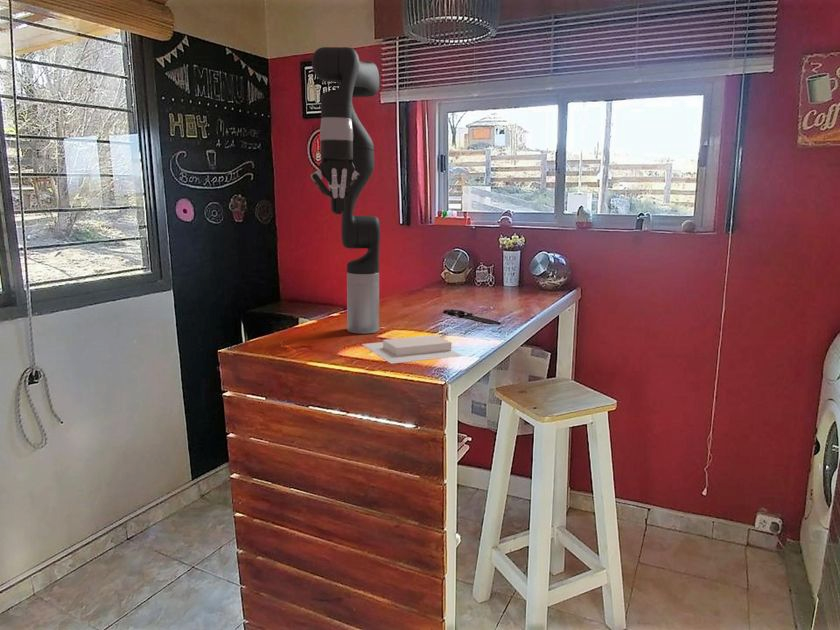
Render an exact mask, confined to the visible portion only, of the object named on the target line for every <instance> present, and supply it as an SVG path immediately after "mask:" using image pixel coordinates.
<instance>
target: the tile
mask: <svg viewBox="0 0 840 630" xmlns="http://www.w3.org/2000/svg"><path fill="white" fill-rule="evenodd" d="M382 342H383V348H385V349H386V350H388V351H389V352H391V353H393V354H394V355H396V356H402V355H411V354H421V353H430V352H440V351H449V350H452V342H451V341H449V340H447V339H445V338H443V337H440V336H439V335H436V334H434V335H433V334H432V335H420V336H411V337H401V338H400V337H399V338H390V339H389V338H387V339H383V340H382Z"/></svg>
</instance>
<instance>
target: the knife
mask: <svg viewBox="0 0 840 630" xmlns="http://www.w3.org/2000/svg"><path fill="white" fill-rule="evenodd" d="M442 313H443V314H447V315H449V316H453V317H455V316H457V318H460V319H461V318H462V319H464V318H466V319H470V320H474V321H479V322H483V323H488V324H499V325H502V323H501V322H500V321H498V320H495V319H490V318H484V317H480V316H476V315H473V314H474V313H473V312H467V311H464V310H459V309H453V308H451V309H444V310H443V311H442Z"/></svg>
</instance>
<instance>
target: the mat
mask: <svg viewBox="0 0 840 630" xmlns="http://www.w3.org/2000/svg"><path fill="white" fill-rule="evenodd" d="M361 345H362V347H365V348H366V349H368V350H370V351H371V352H372V353H374V354H376V355H377V356H378V357H381V358H382V359H383V360H385V362H387V363H389V364H392V365H393V364H400V363H401V364H402V363H410V362H419V361H420V362H421V361H428V360H437V359H439V360H440V359H446V358H456V357H463V355H462V354H460V353H458V352H456V351H454V350H452V349H451V350H449V351H440V352H430V353H421V354H411V355H402V356H396V355H394V354H393V353H391V352H389V351H388V350H386V349H385V348H383V341H381V342H371V343H370V342H369V343H361Z"/></svg>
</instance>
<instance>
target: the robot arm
mask: <svg viewBox="0 0 840 630" xmlns="http://www.w3.org/2000/svg"><path fill="white" fill-rule="evenodd" d="M311 68H312V70H313V73H314V75H315V76H316V78H318V79H319V80H320V81H323V82H330V83H333V82H334V83H338V87H337V88H336V89H332V90H328V91H324V92H323V93H322V94H321V95H320V96H321V97H320V118H321V119H320V129H319V132H320V134H319V136H320V141H319V142H320V143H319V144H320V162H319V165H318V169H317V170H316V171H315V172H314V173H311V174H310V176H309V177H310V179H311V180H312V181H313V183H314V184H315V186H316V187H317V188H318V189H319V191H320V192H321V193H322V195H323V196H327V197H329V198H330V211H331V212H333V215H341V233H340V234H341V242H342V245H343V247H344V248H345V249H350V250H351V249H352V250H353V249H367V251H366V253H365V254H364V255H362V256H360V257H357V258H356V259H352V260H349V262H347V264H346V295H347V296H346V306H347V307H346V310H347V311H346V312H347V314H346V316H347V319H346V323H347V325H346V328H347V329H346V331H347V332H348V333H353V334H358V335H359V334H360V335H361V334H362V335H366V334H367V335H368V334H374V333H377V332H379V331H380V243H381V223H380V219H379V218H378V216H375V215H354V209H355V205H356V202H357V201H358V198H359V197H360V195H361V193H362V191H363V189H364V188H365V186H366V184H367V183H368V181H369V180H370V178H371V177H372V174H373V172H374V169H375V146H374V142H373V140H372V138H371V136H370V134H369V133H368V131H367V130H366V128H365V127H364V125H363V124H362V123H361V121H360V119H359V117H358V115H357V113H356V111H355V108H354V104H353V98H365V97H367V98H369V97H370V98H371V97H373V96H376V94H378V92H379V89H380V74H379V69H378V67H377V65H376V64H375V62H373V61H367V60H363V61H361V60H360V57H359V54H358V53H357V51H356V50H355V49H354V48H353V47H345V46H341V47H339V46H338V47H337V46H335V47H334V46H331V47H330V46H324V47H323V46H322V47H319V48H317V49H316V50H315V51H314V53H313V54H312V57H311ZM323 178H324V179H325V181H326V182H327V183H328V184H327V185H328V187H327V186H326V184H325V183H324V182H323V180H322V179H323Z"/></svg>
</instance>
